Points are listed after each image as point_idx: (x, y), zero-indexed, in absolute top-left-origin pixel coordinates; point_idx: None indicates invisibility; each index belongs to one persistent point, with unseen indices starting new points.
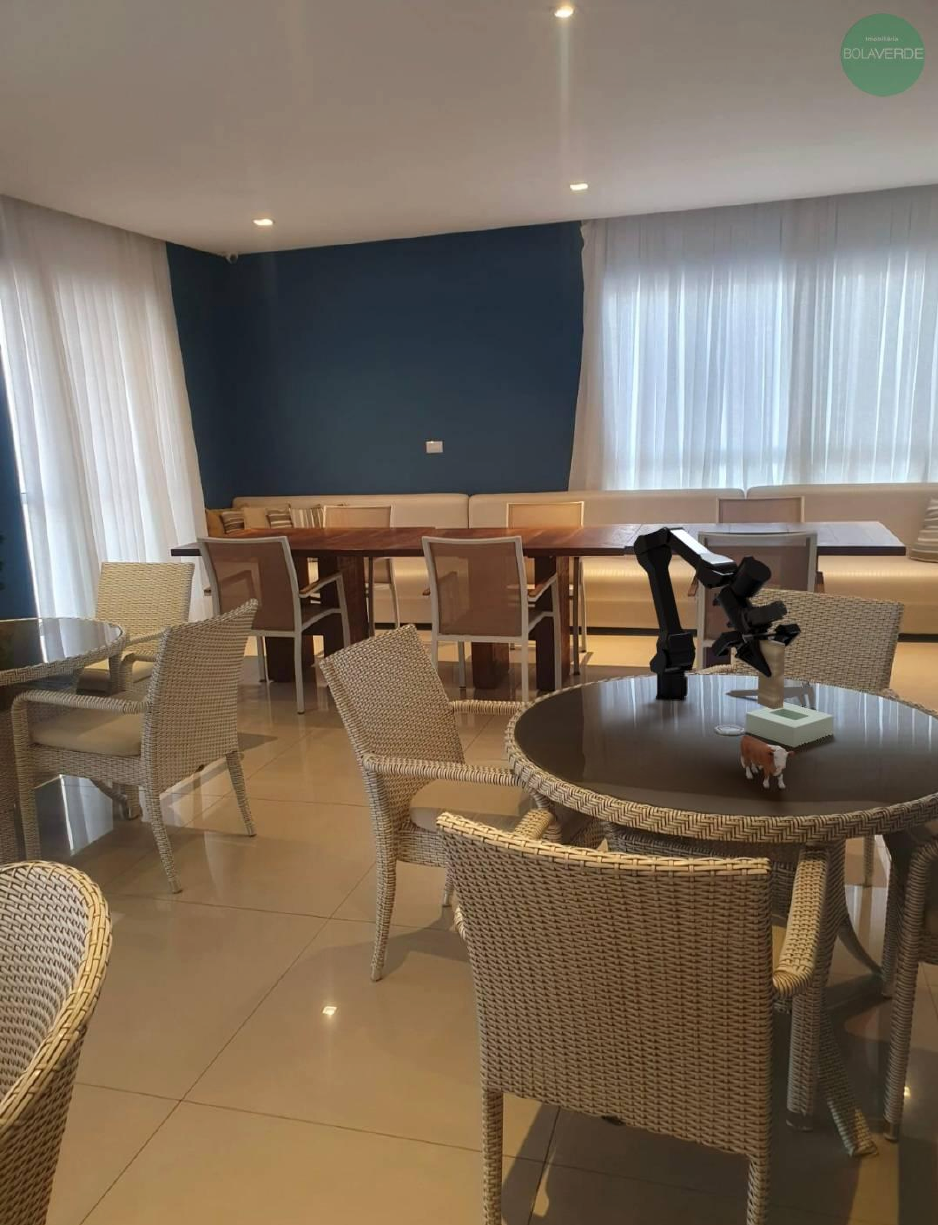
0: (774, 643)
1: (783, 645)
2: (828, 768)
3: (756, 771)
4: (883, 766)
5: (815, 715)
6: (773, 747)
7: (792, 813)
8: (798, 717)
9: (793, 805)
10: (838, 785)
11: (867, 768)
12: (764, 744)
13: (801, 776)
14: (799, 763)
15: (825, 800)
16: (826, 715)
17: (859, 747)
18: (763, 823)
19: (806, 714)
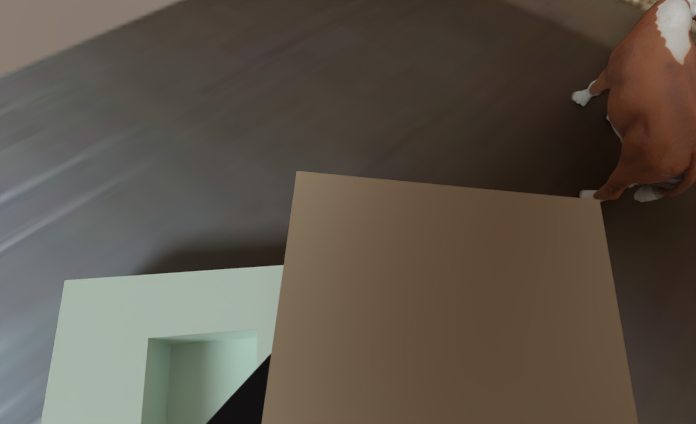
0: (486, 351)
1: (342, 191)
2: (384, 116)
3: (588, 190)
4: (253, 56)
5: (122, 328)
6: (690, 20)
7: (635, 13)
8: (152, 407)
9: (611, 32)
10: (447, 44)
11: (299, 68)
12: (687, 67)
13: (487, 118)
14: (425, 178)
15: (532, 15)
16: (86, 299)
17: (164, 169)
18: None
19: (140, 363)
